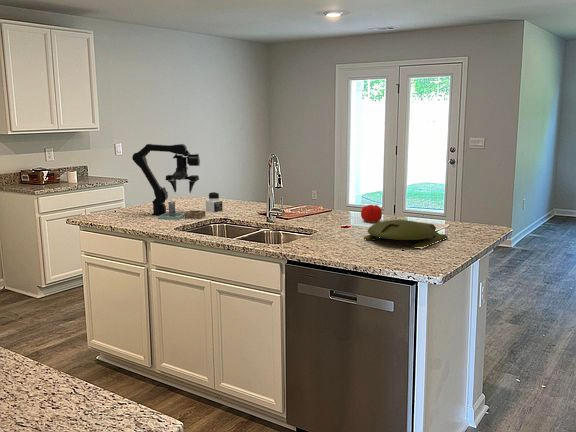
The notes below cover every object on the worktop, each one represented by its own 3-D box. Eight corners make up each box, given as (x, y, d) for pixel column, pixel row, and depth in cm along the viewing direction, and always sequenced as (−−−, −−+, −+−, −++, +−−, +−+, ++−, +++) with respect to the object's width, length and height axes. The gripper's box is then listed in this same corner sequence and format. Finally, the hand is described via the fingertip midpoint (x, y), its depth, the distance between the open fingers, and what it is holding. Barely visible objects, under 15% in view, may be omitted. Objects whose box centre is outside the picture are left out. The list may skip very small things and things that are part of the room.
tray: (158, 220, 317) (157, 216, 316) (166, 216, 328) (166, 212, 328) (178, 221, 315) (178, 217, 314) (186, 217, 326) (186, 213, 326)
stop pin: (168, 218, 320) (167, 202, 318) (170, 217, 323) (169, 201, 322) (174, 218, 319) (173, 202, 318) (176, 217, 323) (175, 201, 321)
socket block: (185, 220, 319) (184, 213, 318) (190, 217, 328) (190, 210, 327) (200, 220, 317) (200, 213, 317) (205, 217, 326) (205, 210, 325)
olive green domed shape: (392, 230, 291) (392, 212, 289) (449, 239, 272) (450, 219, 270) (354, 243, 265) (355, 222, 263) (415, 253, 245) (416, 231, 244)
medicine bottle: (214, 213, 338) (213, 193, 336) (205, 212, 342) (205, 192, 340) (222, 212, 344) (222, 192, 341) (214, 210, 348) (213, 191, 346)
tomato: (365, 219, 320) (365, 203, 319) (385, 221, 314) (385, 205, 313) (357, 222, 311) (357, 206, 310) (377, 224, 305) (378, 207, 304)
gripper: (160, 167, 325) (162, 194, 328) (191, 167, 321) (192, 195, 324) (169, 165, 336) (170, 191, 339) (198, 165, 332) (199, 192, 335)
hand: (182, 192), depth 334 cm, fingers open, 9 cm apart
